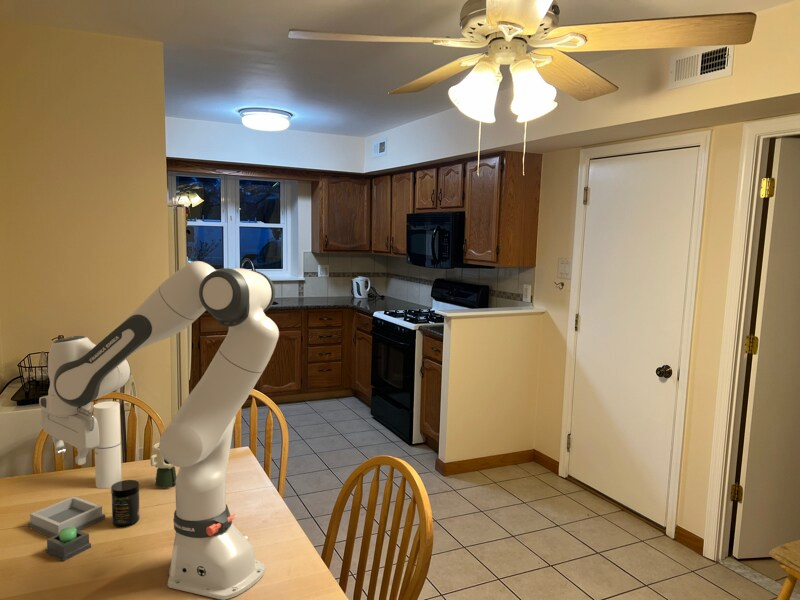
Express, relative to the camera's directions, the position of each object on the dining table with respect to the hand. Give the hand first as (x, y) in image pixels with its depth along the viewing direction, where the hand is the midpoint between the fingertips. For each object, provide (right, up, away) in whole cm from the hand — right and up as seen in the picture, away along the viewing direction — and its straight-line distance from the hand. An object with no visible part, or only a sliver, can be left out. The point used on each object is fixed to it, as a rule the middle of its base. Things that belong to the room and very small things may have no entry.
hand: (70, 458), depth 138 cm
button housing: (-1, -23, +1) cm, 23 cm away
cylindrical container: (-10, -19, +38) cm, 44 cm away
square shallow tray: (-9, -21, +14) cm, 27 cm away
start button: (-1, -20, +1) cm, 20 cm away
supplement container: (+6, -22, +15) cm, 27 cm away
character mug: (+8, -19, +38) cm, 43 cm away
